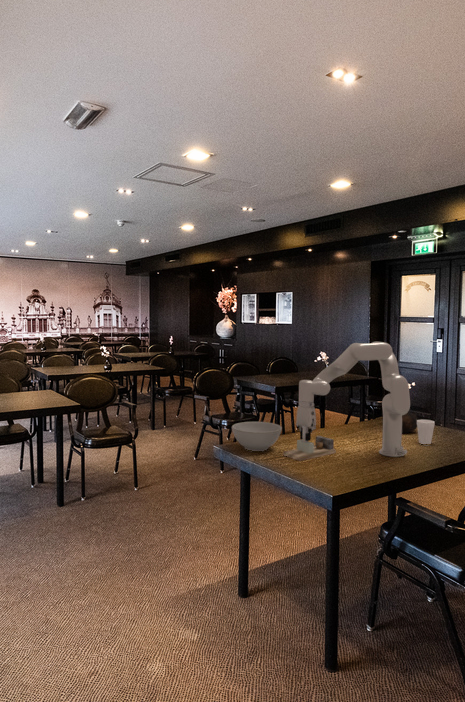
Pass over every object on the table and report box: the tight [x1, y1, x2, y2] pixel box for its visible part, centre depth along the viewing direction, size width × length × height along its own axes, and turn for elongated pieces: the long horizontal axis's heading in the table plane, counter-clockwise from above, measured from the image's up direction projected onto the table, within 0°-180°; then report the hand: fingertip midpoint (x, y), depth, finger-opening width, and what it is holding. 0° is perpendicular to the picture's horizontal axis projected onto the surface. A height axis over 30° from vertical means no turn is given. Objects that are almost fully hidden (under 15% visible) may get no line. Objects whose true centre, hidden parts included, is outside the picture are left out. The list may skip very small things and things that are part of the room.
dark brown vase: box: [402, 410, 419, 434], centre depth 311 cm, size 18×18×28 cm
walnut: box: [315, 441, 323, 449], centre depth 261 cm, size 4×4×3 cm
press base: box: [282, 435, 337, 462], centre depth 256 cm, size 12×26×7 cm, turn 127°
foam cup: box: [416, 419, 436, 445], centre depth 280 cm, size 10×9×13 cm
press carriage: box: [296, 426, 315, 454], centre depth 254 cm, size 9×4×15 cm, turn 37°
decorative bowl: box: [231, 421, 283, 452], centre depth 266 cm, size 27×27×12 cm
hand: (305, 439), depth 254 cm, fingers closed on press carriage, 3 cm apart
